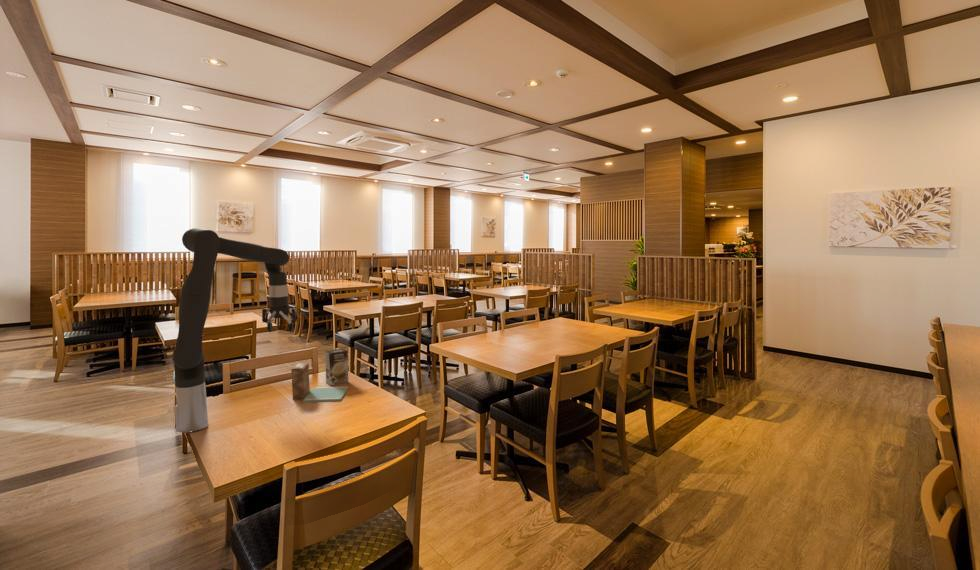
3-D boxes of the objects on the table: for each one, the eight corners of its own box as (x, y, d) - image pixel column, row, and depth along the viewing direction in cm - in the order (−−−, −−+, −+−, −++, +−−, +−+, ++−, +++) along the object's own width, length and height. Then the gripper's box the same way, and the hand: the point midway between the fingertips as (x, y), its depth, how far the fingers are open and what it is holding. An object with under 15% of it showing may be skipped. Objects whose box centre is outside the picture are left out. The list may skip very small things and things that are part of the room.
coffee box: (330, 386, 210) (329, 353, 208) (325, 382, 215) (324, 350, 213) (349, 382, 216) (347, 350, 214) (344, 378, 220) (343, 347, 219)
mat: (302, 402, 189) (302, 400, 189) (313, 389, 205) (313, 387, 205) (340, 400, 191) (340, 398, 191) (348, 388, 207) (348, 386, 207)
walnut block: (292, 399, 193) (291, 368, 191) (298, 392, 201) (297, 363, 199) (304, 398, 193) (303, 368, 192) (309, 392, 201) (308, 362, 200)
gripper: (257, 296, 185) (260, 333, 187) (291, 296, 186) (293, 333, 187) (266, 294, 192) (268, 329, 194) (298, 293, 193) (300, 329, 195)
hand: (280, 331), depth 191 cm, fingers open, 8 cm apart
